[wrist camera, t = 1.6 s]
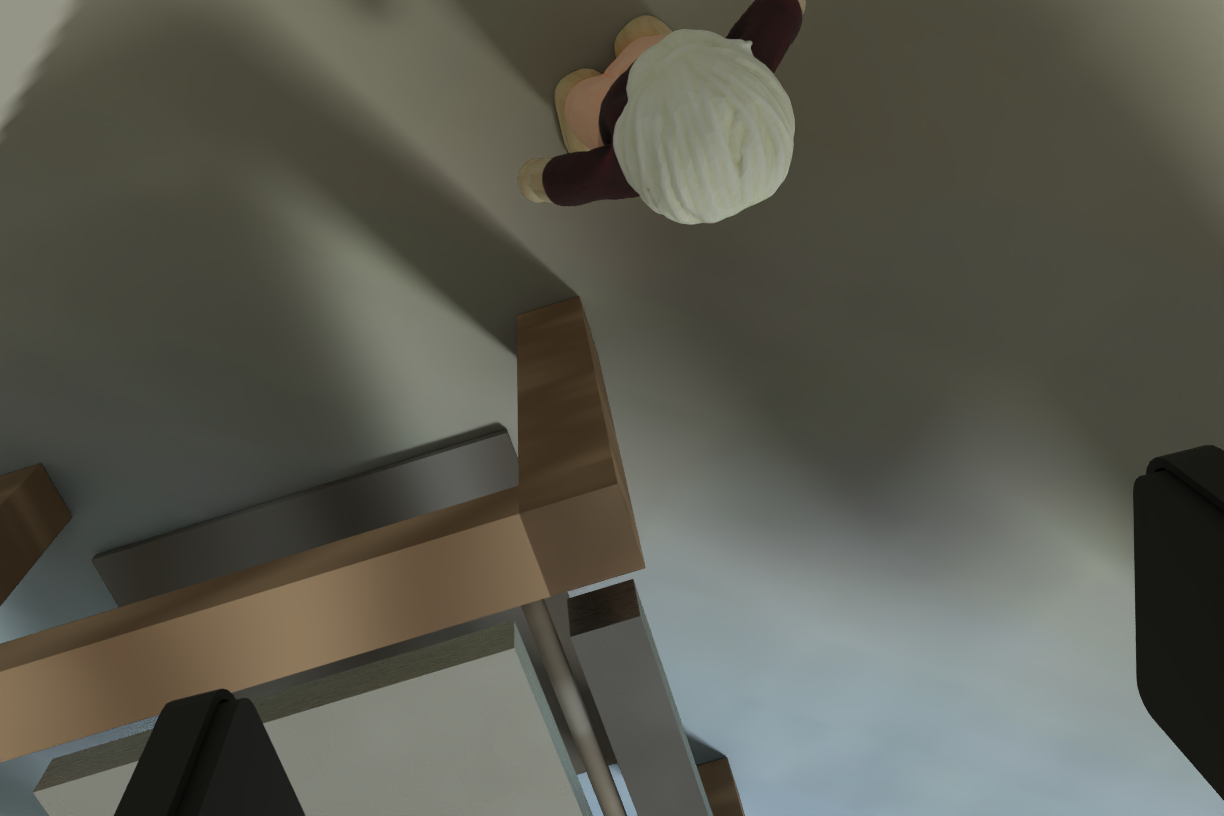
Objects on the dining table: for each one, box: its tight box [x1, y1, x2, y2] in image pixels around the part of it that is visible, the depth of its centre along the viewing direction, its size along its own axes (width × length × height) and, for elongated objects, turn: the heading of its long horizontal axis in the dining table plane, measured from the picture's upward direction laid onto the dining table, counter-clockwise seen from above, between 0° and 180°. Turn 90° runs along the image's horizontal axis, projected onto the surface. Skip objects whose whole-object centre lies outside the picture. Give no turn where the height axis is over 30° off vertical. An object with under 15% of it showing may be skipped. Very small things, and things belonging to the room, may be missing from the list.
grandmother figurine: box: [518, 0, 806, 225], centre depth 23 cm, size 8×4×13 cm, turn 137°
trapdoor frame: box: [0, 296, 745, 816], centre depth 30 cm, size 20×21×13 cm
